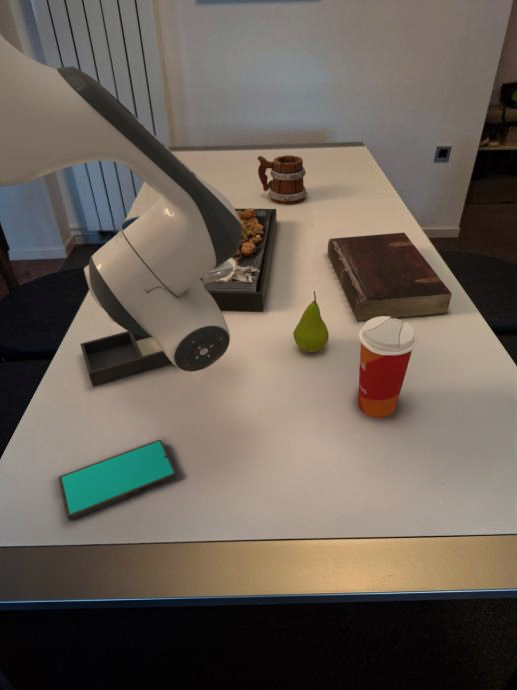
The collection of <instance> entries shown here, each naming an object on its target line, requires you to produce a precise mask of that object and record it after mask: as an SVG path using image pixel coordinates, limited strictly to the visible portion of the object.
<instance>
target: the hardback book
mask: <svg viewBox="0 0 517 690" xmlns="http://www.w3.org/2000/svg"><path fill="white" fill-rule="evenodd" d="M327 256H328V258H329V262H330V263H331V265H332V268H333V270H334V273H335V275H336V277H337V279H338V281H339V283H340V286H341V289H342V290H343V293H344V295H345V297H346V299H347V301H348V303H349V306H350V309H351V311H352V312H353V313H352V314H353V315H354V317H355V319H356V322H367V321H368V320H370V319H372V318H375V317H381V316H388V317H391V318H392V319H394V318H396V319H399V318H401V319H402V318H411V317H420V316H421V317H422V316H435V315H444V314H448V311H449V307H450V304H451V300H452V292H451V291H450V289H449V288H448V287H447V285H446V284H445V283H444V281H443V280H442V279H441V278H440V277H439V275H438V274H437V272H436V271H435V270H434V269H433V267H432V266H431V265H430V263H429V262H428V261H427V260H426V259H425V257H424V256H423V254H422V253H421V252H420V251H419V249H418V248H417V247H416V246H415V244H414V243H413V242H412V240H411V239H410V238H409V237H408V236H407V234H406V233H405V232H395V233H394V232H393V233H383V234H382V233H381V234H370V235H357V236H347V237H336V238H335V237H333V238H329V239H328V241H327Z"/></svg>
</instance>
